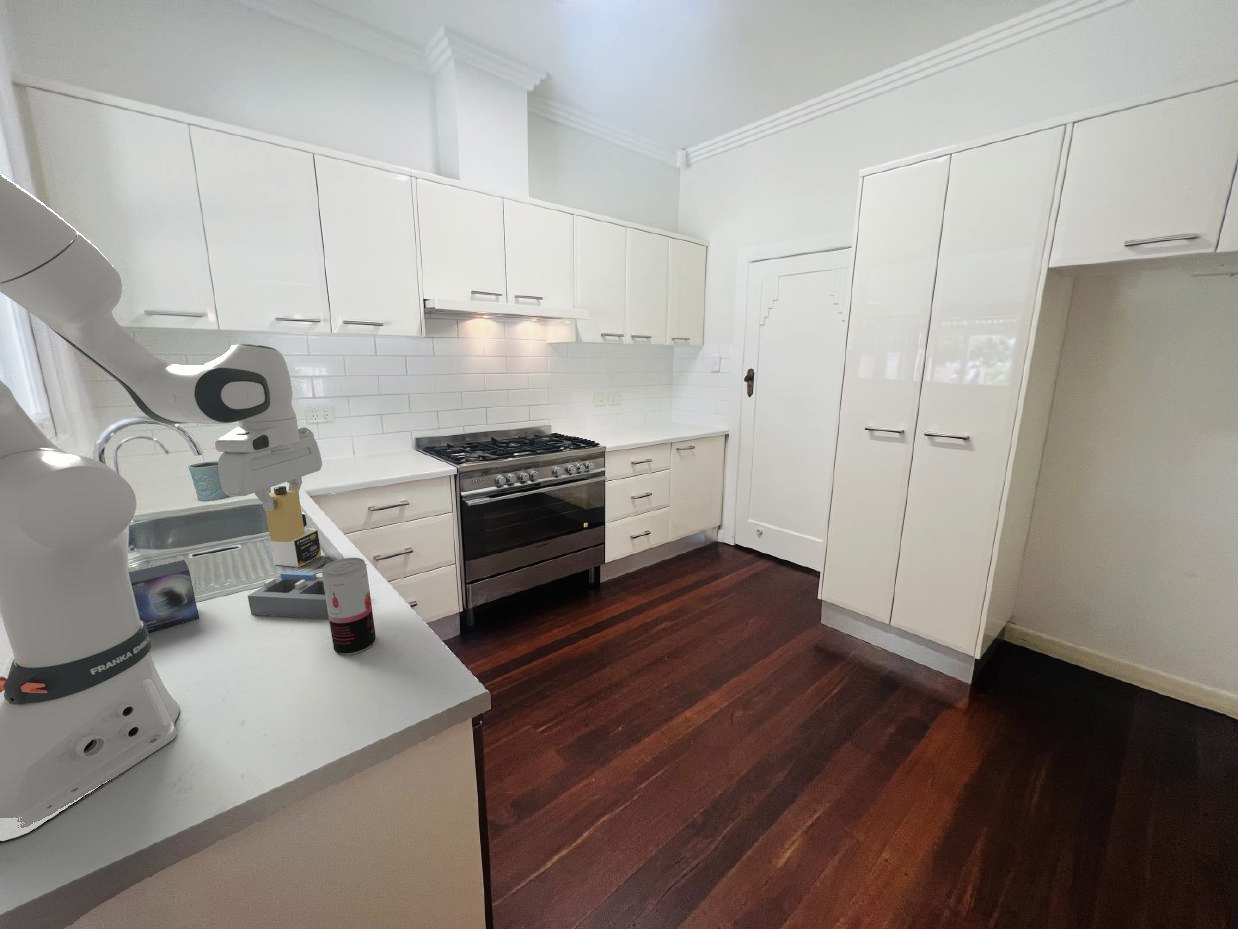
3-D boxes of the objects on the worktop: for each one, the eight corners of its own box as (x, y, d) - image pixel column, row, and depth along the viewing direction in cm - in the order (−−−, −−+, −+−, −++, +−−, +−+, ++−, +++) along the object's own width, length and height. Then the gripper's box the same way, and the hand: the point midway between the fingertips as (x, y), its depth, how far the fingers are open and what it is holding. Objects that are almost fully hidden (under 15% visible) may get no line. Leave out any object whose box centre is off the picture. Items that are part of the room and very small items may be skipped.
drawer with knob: (289, 542, 95) (281, 490, 93) (270, 541, 96) (261, 490, 93) (305, 534, 99) (297, 485, 97) (286, 533, 100) (278, 484, 97)
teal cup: (200, 503, 167) (192, 468, 164) (191, 498, 173) (184, 464, 170) (236, 496, 175) (230, 463, 172) (226, 491, 181) (220, 459, 178)
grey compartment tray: (328, 618, 95) (325, 595, 94) (251, 614, 97) (246, 591, 96) (357, 596, 104) (354, 573, 103) (286, 592, 106) (282, 570, 105)
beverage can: (384, 638, 89) (374, 560, 85) (353, 659, 83) (340, 576, 79) (357, 631, 91) (346, 554, 88) (325, 651, 85) (312, 570, 82)
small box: (124, 642, 88) (109, 587, 86) (122, 628, 93) (108, 576, 90) (200, 618, 96) (189, 568, 93) (195, 607, 100) (184, 558, 98)
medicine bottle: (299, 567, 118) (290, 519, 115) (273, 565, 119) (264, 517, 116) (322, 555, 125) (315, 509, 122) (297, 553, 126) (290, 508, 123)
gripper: (297, 425, 103) (307, 489, 106) (205, 444, 83) (220, 522, 87) (325, 426, 102) (334, 490, 106) (239, 444, 83) (253, 524, 86)
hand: (282, 505), depth 96 cm, fingers closed on drawer with knob, 4 cm apart
